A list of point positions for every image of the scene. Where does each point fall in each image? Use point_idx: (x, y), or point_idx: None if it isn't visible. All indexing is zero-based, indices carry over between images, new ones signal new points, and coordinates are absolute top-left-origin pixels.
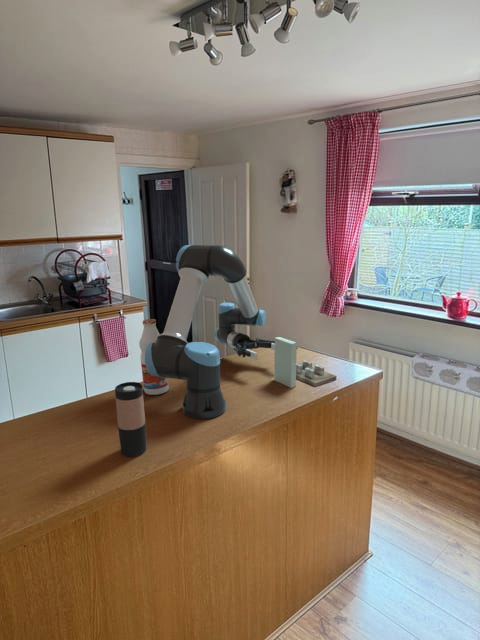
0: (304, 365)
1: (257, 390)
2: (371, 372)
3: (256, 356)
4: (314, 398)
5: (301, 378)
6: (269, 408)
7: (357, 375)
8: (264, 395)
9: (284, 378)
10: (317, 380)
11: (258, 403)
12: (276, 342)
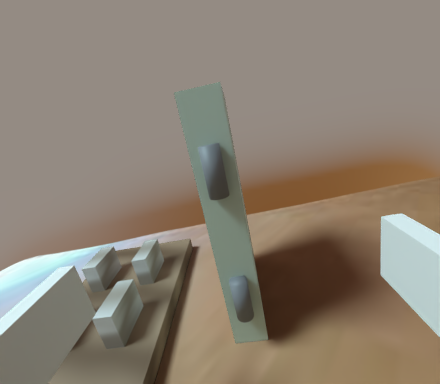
0: None
1: None
2: (27, 263)
3: (389, 246)
4: None
5: (179, 280)
6: (374, 205)
7: (60, 261)
8: (373, 247)
9: (254, 260)
10: (170, 247)
11: None
12: (226, 114)
